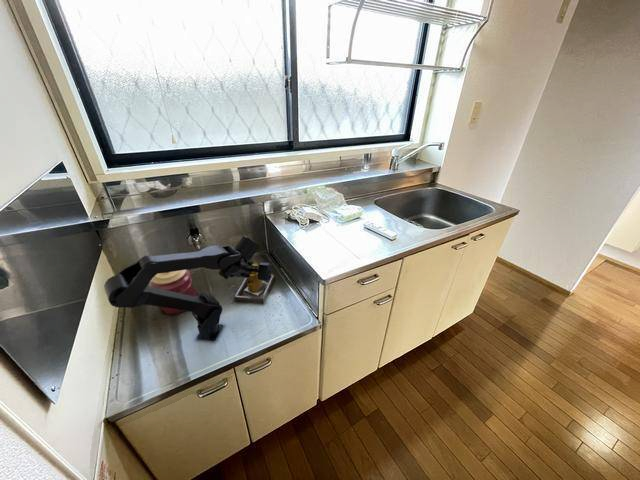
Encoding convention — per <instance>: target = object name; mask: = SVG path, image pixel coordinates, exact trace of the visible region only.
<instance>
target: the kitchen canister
mask: <svg viewBox="0 0 640 480" xmlns="http://www.w3.org/2000/svg"><path fill="white" fill-rule="evenodd" d="M150 287H153V288H158V289H163V290H167V291H172V292H176V293H181V294H185V295H190V296H197V292H196V290H195V287H194V284H193V279H192V277H191V273H190V270H189V269H187V270H180V271H173V272H166V273H159V274H157V275H155V276H154V277H153V278H152V280H151V281H150ZM159 308H160V310H161V311H162V312H163V313H165V314H170V315H171V314H172V315H173V314H175V315H176V314H179V313H182V312H183V311H182V310H176V309H170V308H164V307H159Z"/></svg>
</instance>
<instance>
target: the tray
mask: <svg viewBox="0 0 640 480" xmlns="http://www.w3.org/2000/svg"><path fill="white" fill-rule="evenodd" d="M274 281H275V274H272V273H271V276H270V280H269V281H268V285H267V287H266V288H265V289H264V292H263V294H262V296H261V297H254V296H247V295H245V296H244V295H242V293H243V291H244V289H246V287H247V280H246V277H244V279H243V281H242V283H241V285H240V286H239V288H238V289H237V291H236V293H235V294H234V301H235V302H241V303H243V302H244V303H251V304H261V305H262V304H263V305H264V303H265V302H266V300H267V297H268V294H269V292H270V291H271V287H272V285H273V283H274Z"/></svg>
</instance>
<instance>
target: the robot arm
mask: <svg viewBox="0 0 640 480" xmlns="http://www.w3.org/2000/svg"><path fill="white" fill-rule="evenodd" d="M260 247H261V245H260V244H259V243H257V242H256V241H255V240H253V239H252V238H250V237H249V236H247V235H245V234H243V236H242V237H241V238H240V240H239V242H237V244H236V245H235V246H233V245H231V244H228V245H219V244H215V245H211V246H206V247H204V248H202V249H200V250H198V251H192V252H191V251H190V252H179V253H169V254H160V255H158V254H157V255H148V254H147V255H144V256H142V257H141V258H139V259H138V260H137V261H136V262H134V263H132V264H130V265H128V266H125V267H124V268H123V269H121V270H120V271H119V272H118V273H116V274H114V275H113V276H111V277H109V278H107V280H105V282H104V285H103V288H104V289H103V290H104V292H105V294H106V297H107V300H108V302H109V304H110V305H111V306H112V307H114V308H123V309H125V308H128V309H129V308H131V309H133V308H136V307H137V308H138V307H141V306H144V305H145V306H153V307H158V308H160V307H164V308H170V309H176V310H182V312H188V313H191V315H192V316H193V317H194V319H195V321H196V323H197V326H196V327H197V330H198V335H196V339H197V340H200V341H201V340H202V341H210V342H214V341H216V340H217V338H218V337H219V335H220V333H221V331H222V330H223V327H224V325H223V324H220V319H221V314H222V312H223V306H222V305H221V304H220V302H219V301H218V300H217V299H216V297H215V296H214V295H213V294H212V293H211V292H205V291H202V290H201V291H200V292H199V294H198V295H196V296H190V295H185V294H181V293H176V292H172V291H167V290H163V289H158V288H153V287H151V286H149V285H150V284H151V281H152V278H153V277H154V276H155V275H157V274H159V273H166V272H173V271H180V270H193V269H201V268H202V269H208V270H213V271H215V270H218V275H219V276H220V277H222V278H224V279H225V280H228V279H229V278H233V277H236V278H250V274H251V273H252V272H258V276H257V277H258V280H262V281H265V282H269V281H270V276H271V274H272V268H273V265H272V264H271V263H270V262H259V263H258V264H259V266H252V265H253V262H254V260H253V259H254V255H255V254H256V253H257V251H258V250H259V249H260ZM252 268H255V269H252ZM257 268H259V269H257Z"/></svg>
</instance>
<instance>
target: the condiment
mask: <svg viewBox="0 0 640 480" xmlns="http://www.w3.org/2000/svg"><path fill="white" fill-rule="evenodd" d="M259 264H260V263H258V262H257V261H253V265H252V266H259ZM252 269H255V268H252ZM257 269H259V268H257ZM257 276H258V272H252V273H251V274H250V278H246V277H245V278H246V280H247V284H246V287H245V288H244V289H243V291H245V292H246V293H250V294H252V295H255V296H257V297H258V296H259V295H260V294H261V293H262V292H263V291H265V290H266V288H267V285H268V283H269V281H265V280H258V277H257Z"/></svg>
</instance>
